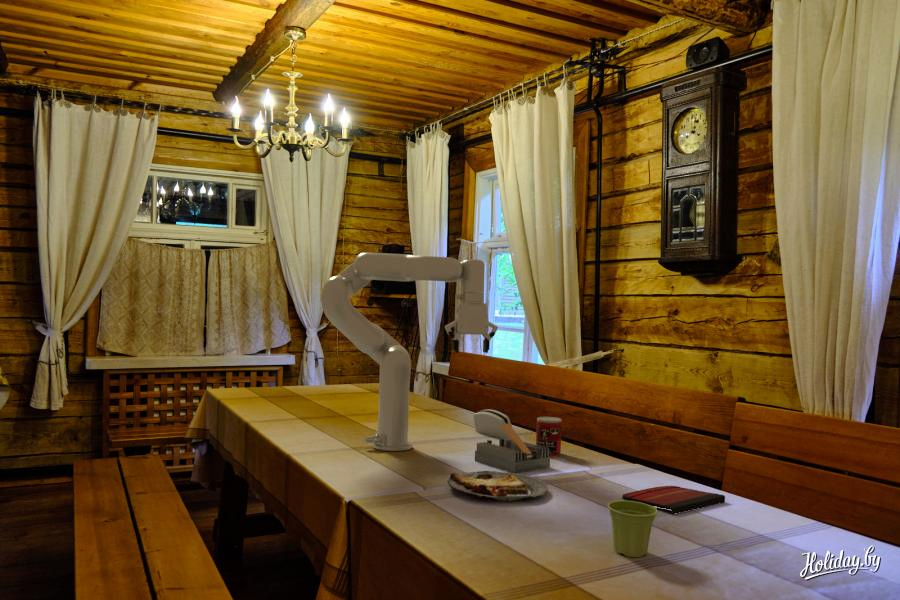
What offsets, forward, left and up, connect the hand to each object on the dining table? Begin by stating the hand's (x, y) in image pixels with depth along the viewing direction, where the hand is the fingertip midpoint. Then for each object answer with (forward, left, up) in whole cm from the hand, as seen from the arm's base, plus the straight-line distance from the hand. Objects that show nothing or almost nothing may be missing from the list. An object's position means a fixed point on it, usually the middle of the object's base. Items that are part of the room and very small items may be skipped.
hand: (470, 352), depth 224 cm
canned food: (+18, -18, -31) cm, 40 cm away
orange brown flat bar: (-2, -23, -23) cm, 33 cm away
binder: (+7, -70, -31) cm, 77 cm away
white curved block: (+23, +13, -31) cm, 41 cm away
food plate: (-25, -41, -31) cm, 57 cm away
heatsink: (-2, -22, -31) cm, 38 cm away
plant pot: (-32, -87, -31) cm, 97 cm away
